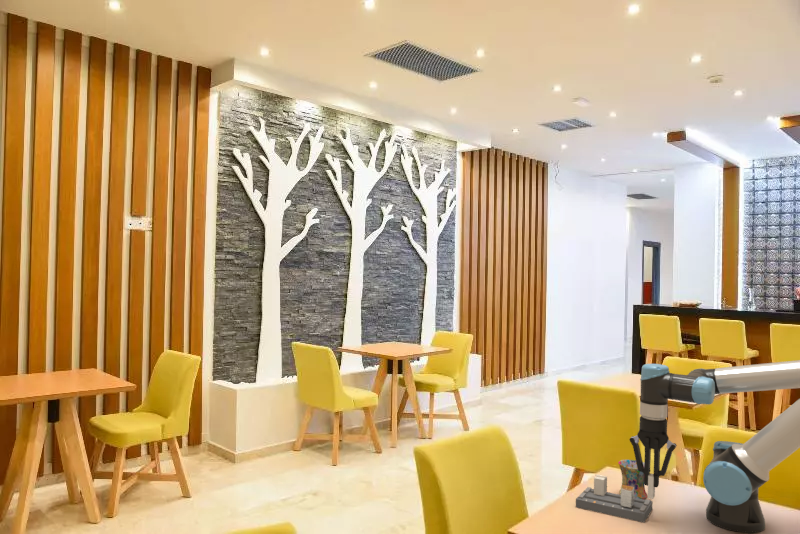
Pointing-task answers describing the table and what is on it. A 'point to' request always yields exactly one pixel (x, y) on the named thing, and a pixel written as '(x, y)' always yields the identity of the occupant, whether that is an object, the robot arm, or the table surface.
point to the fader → (627, 496)
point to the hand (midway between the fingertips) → (651, 497)
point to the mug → (633, 478)
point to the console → (612, 502)
